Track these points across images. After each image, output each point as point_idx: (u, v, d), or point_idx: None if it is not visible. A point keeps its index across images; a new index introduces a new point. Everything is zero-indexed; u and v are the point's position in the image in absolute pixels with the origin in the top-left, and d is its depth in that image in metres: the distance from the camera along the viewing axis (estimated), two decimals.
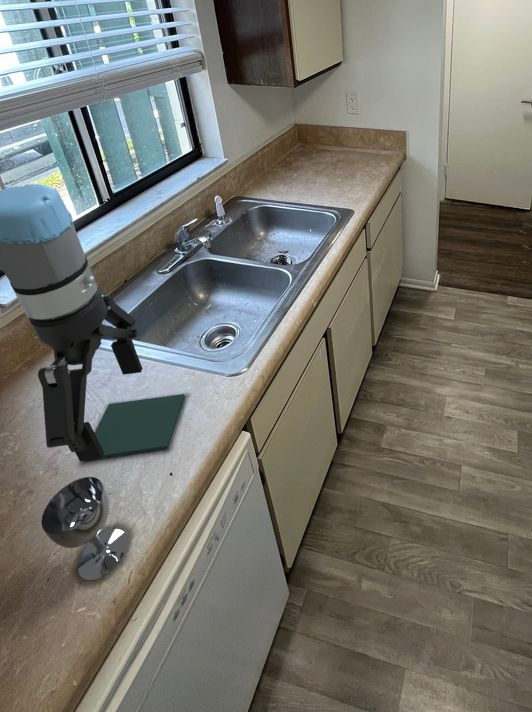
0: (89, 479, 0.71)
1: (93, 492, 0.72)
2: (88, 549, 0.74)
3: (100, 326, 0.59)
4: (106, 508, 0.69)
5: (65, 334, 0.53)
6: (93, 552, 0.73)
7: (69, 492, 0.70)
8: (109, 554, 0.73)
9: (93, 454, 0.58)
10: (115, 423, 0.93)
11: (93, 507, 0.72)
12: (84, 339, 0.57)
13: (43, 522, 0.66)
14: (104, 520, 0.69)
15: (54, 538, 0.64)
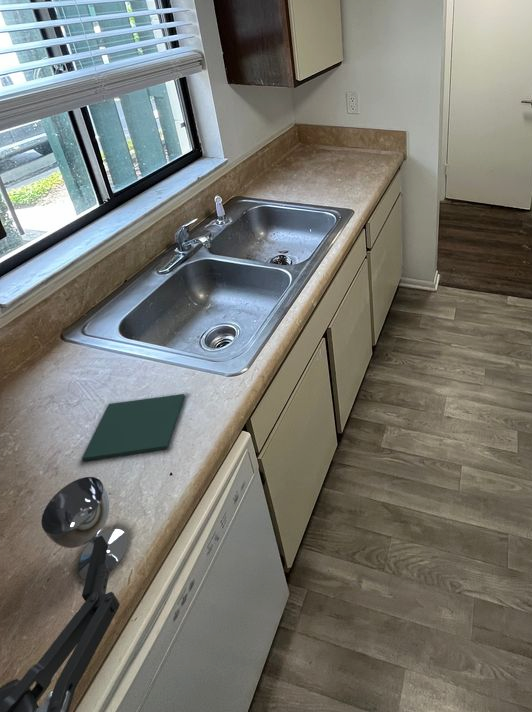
0: (90, 479, 0.71)
1: (93, 492, 0.72)
2: (88, 549, 0.74)
3: None
4: (106, 508, 0.69)
5: None
6: None
7: (69, 492, 0.70)
8: (109, 554, 0.73)
9: None
10: (115, 423, 0.93)
11: (93, 507, 0.72)
12: None
13: (43, 522, 0.66)
14: (104, 520, 0.69)
15: (54, 538, 0.64)
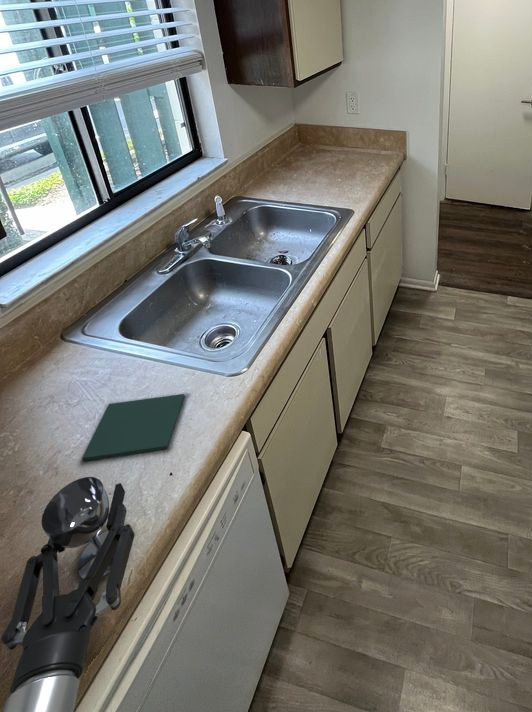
0: (89, 479, 0.71)
1: (93, 492, 0.72)
2: (88, 549, 0.74)
3: None
4: (106, 508, 0.69)
5: None
6: (93, 552, 0.73)
7: (69, 492, 0.70)
8: None
9: None
10: (115, 423, 0.93)
11: (93, 507, 0.72)
12: None
13: (43, 522, 0.66)
14: (104, 520, 0.69)
15: (54, 538, 0.64)
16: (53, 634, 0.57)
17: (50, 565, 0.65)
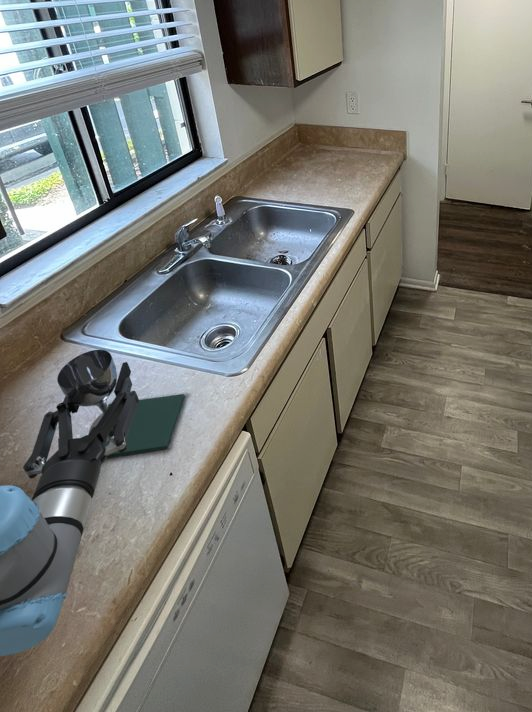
0: (99, 353, 0.79)
1: (102, 365, 0.80)
2: (97, 420, 0.82)
3: None
4: (114, 375, 0.78)
5: None
6: None
7: (81, 363, 0.79)
8: (116, 423, 0.81)
9: None
10: None
11: None
12: None
13: (59, 381, 0.74)
14: (112, 385, 0.77)
15: (68, 392, 0.72)
16: (68, 460, 0.65)
17: (65, 418, 0.73)
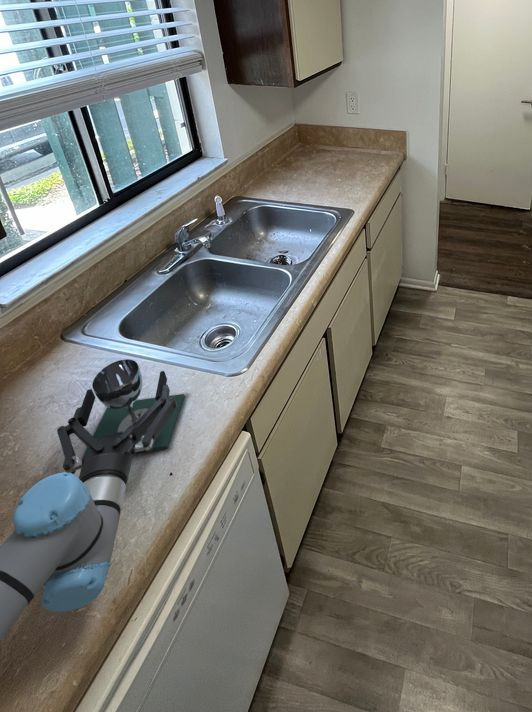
0: (127, 362, 0.91)
1: (129, 373, 0.92)
2: (124, 421, 0.94)
3: None
4: (141, 381, 0.89)
5: None
6: (129, 422, 0.93)
7: (111, 371, 0.90)
8: None
9: None
10: (115, 423, 0.93)
11: None
12: None
13: (93, 387, 0.85)
14: (139, 390, 0.88)
15: (103, 397, 0.84)
16: (105, 453, 0.76)
17: (81, 427, 0.83)
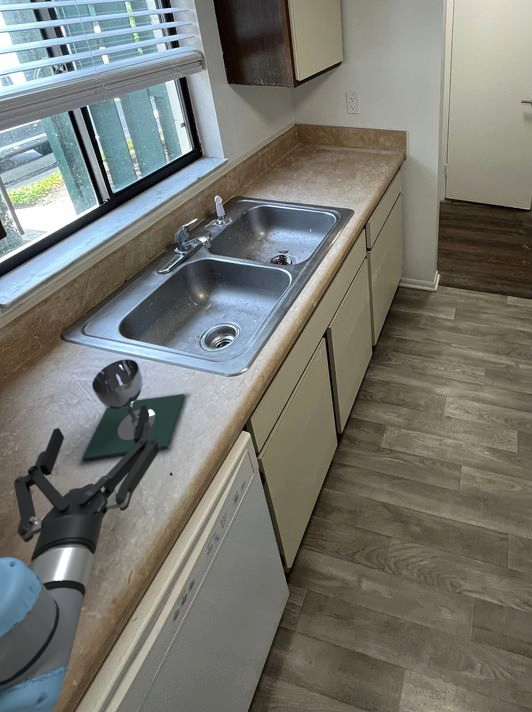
0: (127, 362, 0.91)
1: (129, 373, 0.92)
2: (124, 421, 0.94)
3: None
4: (141, 381, 0.89)
5: None
6: (129, 422, 0.93)
7: (111, 371, 0.90)
8: None
9: None
10: (115, 423, 0.93)
11: None
12: None
13: (93, 387, 0.85)
14: (139, 390, 0.88)
15: (102, 397, 0.84)
16: (69, 515, 0.62)
17: (43, 478, 0.69)
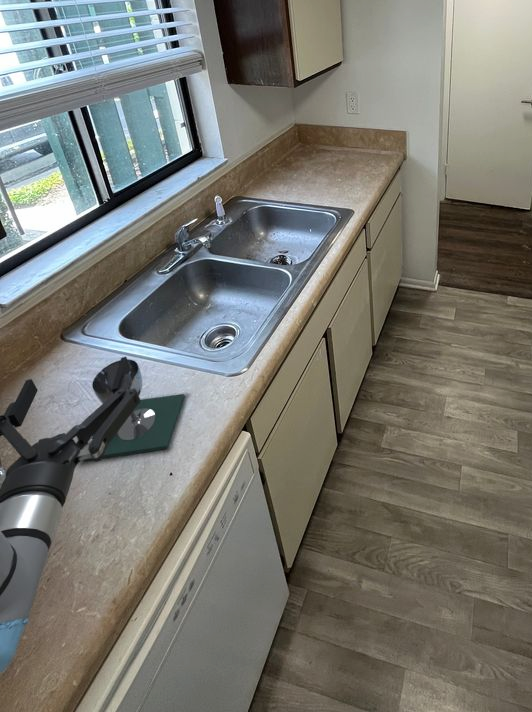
0: None
1: (129, 373, 0.92)
2: None
3: None
4: (141, 381, 0.89)
5: None
6: (129, 422, 0.93)
7: (111, 371, 0.90)
8: (141, 423, 0.93)
9: None
10: None
11: None
12: None
13: (93, 387, 0.85)
14: (139, 390, 0.88)
15: (102, 397, 0.84)
16: (36, 462, 0.57)
17: (11, 428, 0.63)
